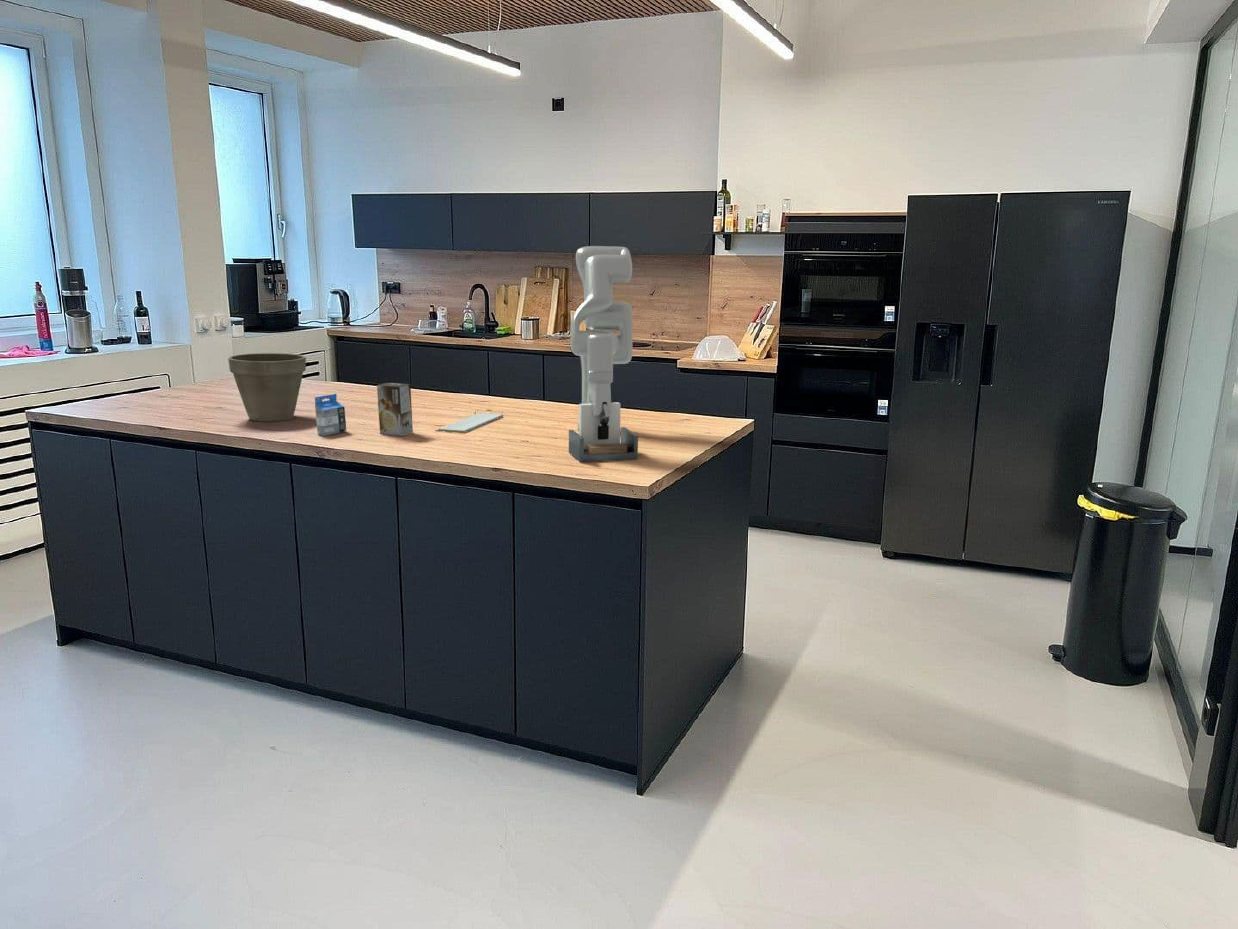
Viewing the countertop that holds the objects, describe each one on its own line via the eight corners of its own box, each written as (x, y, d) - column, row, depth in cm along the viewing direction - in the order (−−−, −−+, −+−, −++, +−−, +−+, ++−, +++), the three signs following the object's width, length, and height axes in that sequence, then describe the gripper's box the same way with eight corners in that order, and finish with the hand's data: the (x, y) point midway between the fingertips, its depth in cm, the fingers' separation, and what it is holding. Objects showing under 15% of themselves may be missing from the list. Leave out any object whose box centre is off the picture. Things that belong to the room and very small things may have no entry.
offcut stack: (580, 458, 253) (580, 445, 252) (623, 456, 257) (623, 442, 256) (584, 461, 249) (584, 448, 248) (627, 459, 253) (628, 446, 252)
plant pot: (323, 413, 314) (319, 353, 309) (286, 426, 291) (281, 361, 286) (260, 410, 319) (254, 351, 313) (218, 422, 295) (212, 359, 290)
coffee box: (414, 432, 284) (411, 383, 280) (402, 436, 278) (400, 386, 274) (390, 430, 287) (388, 382, 283) (378, 433, 281) (375, 384, 277)
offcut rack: (568, 452, 258) (568, 429, 256) (624, 449, 263) (624, 427, 262) (579, 462, 247) (579, 438, 245) (637, 459, 252) (638, 435, 250)
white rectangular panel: (578, 453, 258) (578, 403, 254) (617, 451, 261) (618, 402, 257) (581, 455, 255) (581, 405, 252) (619, 453, 259) (620, 403, 255)
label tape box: (325, 436, 276) (322, 398, 273) (316, 434, 278) (314, 397, 275) (346, 431, 284) (344, 394, 281) (338, 430, 286) (335, 393, 283)
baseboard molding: (431, 432, 287) (463, 435, 284) (430, 424, 286) (463, 426, 283) (473, 416, 316) (503, 418, 313) (472, 408, 315) (503, 410, 312)
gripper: (579, 373, 260) (579, 431, 264) (595, 381, 244) (595, 443, 248) (603, 372, 262) (603, 430, 266) (621, 380, 246) (620, 442, 250)
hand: (599, 436), depth 257 cm, fingers open, 6 cm apart
